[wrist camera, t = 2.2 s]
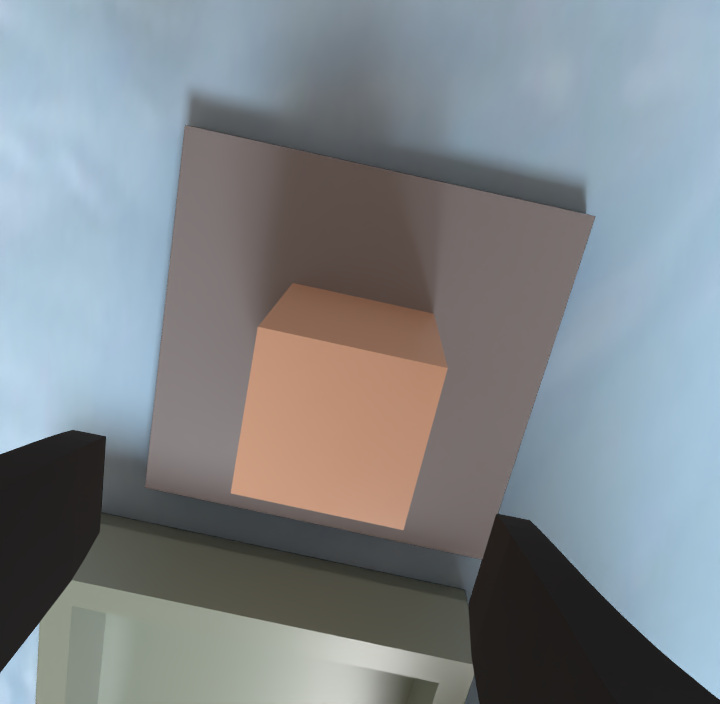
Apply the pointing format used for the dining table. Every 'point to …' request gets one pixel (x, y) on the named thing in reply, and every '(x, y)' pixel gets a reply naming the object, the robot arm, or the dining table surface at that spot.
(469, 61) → the dining table surface
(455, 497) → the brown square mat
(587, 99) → the dining table surface
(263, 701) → the olive bin
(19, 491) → the robot arm
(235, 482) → the clay block
